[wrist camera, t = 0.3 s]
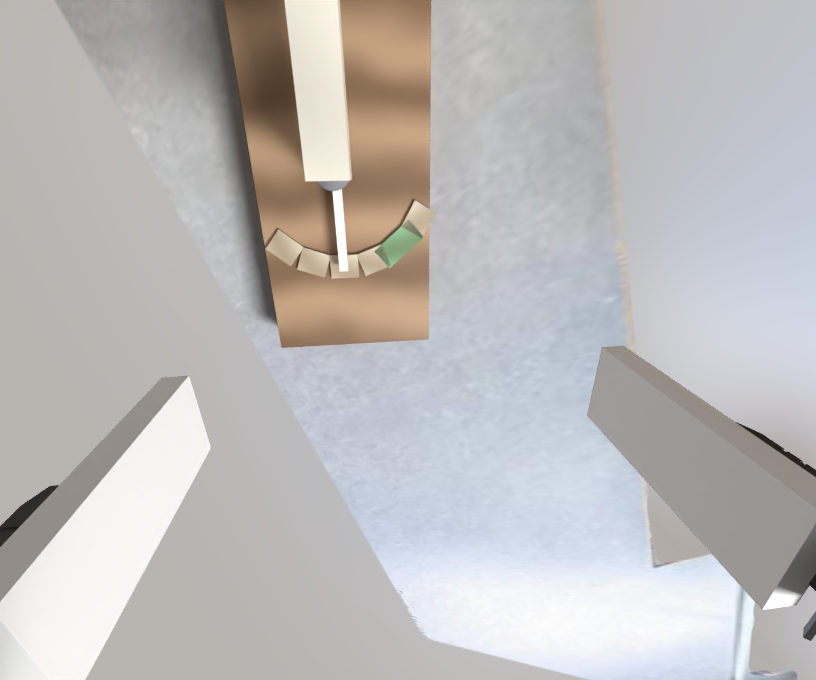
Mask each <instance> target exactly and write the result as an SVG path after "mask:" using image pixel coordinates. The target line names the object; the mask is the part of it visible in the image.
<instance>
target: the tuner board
mask: <svg viewBox="0 0 816 680" xmlns="http://www.w3.org/2000/svg"><path fill="white" fill-rule="evenodd" d="M224 5H225V11H226V17H227V23H228V29H229V35H230V41H231V47H232V53H233V59H234V65H235V71H236V77H237V83H238V89H239V95H240V101H241V107H242V113H243V119H244V125H245V131H246V137H247V143H248V149H249V155H250V161H251V167H252V173H253V179H254V185H255V191H256V197H257V203H258V209H259V215H260V221H261V227H262V233H263V239H264V245H265V251H266V257H267V263H268V269H269V275H270V281H271V287H272V293H273V299H274V305H275V311H276V317H277V323H278V329H279V335H280V341H281V347H282V348H287V347H304V346H321V345H339V344H356V343H373V342H390V341H408V340H425V339H429V224H430V222H431V220H432V218H433V216H434V214H435V212H434V211H432V210H430V82H431V0H340V12H341V27H342V41H343V56H344V70H345V85H346V99H347V114H348V128H349V143H350V157H351V170H352V180H351V181H350V182H349V184H348V185H347V186H345V187H344V188H342V196H343V209H344V221H345V234H346V246H347V259H348V271H341V272H340V270H339V258H338V247H337V236H336V225H335V214H334V203H333V191H329V190H326V189H324V188H323V187H322V186H321V185H320V184H319V183H318V182H317V181H305V174H304V165H303V157H302V148H301V139H300V131H299V122H298V113H297V105H296V96H295V87H294V79H293V70H292V61H291V53H290V44H289V36H288V27H287V18H286V10H285V1H284V0H224Z"/></svg>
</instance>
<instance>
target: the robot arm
mask: <svg viewBox="0 0 816 680" xmlns="http://www.w3.org/2000/svg"><path fill="white" fill-rule="evenodd" d="M587 416H588V417H589V418H590V419H591V420H592V422H593V423H594V424H595V425H596V426H597V427H598V428H599V429H600V430H601V432H602V433H603V434H604V435H605V436H606V437H607V438H608V439H609V440H610V442H611V443H612V444H613V445H614V446H615V447H616V448H617V449H618V450H619V452H620V453H621V454H622V455H623V456H624V457H625V458H626V459H627V460H628V461H629V463H630V464H631V465H632V466H633V467H634V468H635V469H636V470H637V471H638V473H639V474H640V475H641V476H642V477H643V478H644V479H645V480H646V481H647V483H648V484H649V485H650V486H651V487H652V488H653V489H654V490H655V491H656V492H657V493H658V495H659V496H660V497H661V498H662V499H663V500H664V501H665V503H666V504H667V505H668V506H669V507H670V508H671V509H672V510H673V511H674V512H675V514H676V515H677V516H678V517H679V518H680V519H681V520H682V521H683V522H684V524H685V525H686V526H687V527H688V528H689V529H690V530H691V531H692V532H693V534H695V536H696V537H697V538H698V539H699V540H700V541H701V542H702V543H703V545H704V546H705V547H706V548H707V549H708V550H709V551H710V552H711V554H712V555H713V556H714V557H715V558H716V559H717V560H718V561H719V562H720V563H721V565H722V566H723V567H724V568H725V569H726V570H727V571H728V572H729V573H730V575H731V576H732V577H733V578H734V579H735V580H736V581H737V582H738V583H739V585H740V586H741V587H742V588H743V589H744V590H745V591H746V592H747V593H748V595H749V596H750V597H751V598H752V599H753V600H754V601H755V602H756V603H757V604H758V606H759V607H760V608H761V609H762V610H764V609H772V608H779V607H786V606H792V605H796V604H797V603H798V602H799V600H800V599H801V597H802V596H803V594H804V593H805V591H806V590H807V588H808V587H809V585H810V586H811V587H812V588H813V589H814V590H815V591H816V470H815V469H813V468H812V467H810V466H809V465H807V464H806V465H804V464H803V462H802V460H800V459H799V458H797V457H796V456H794V455H793V454H791V453H790V452H785V451H784V448H782V447H781V446H779V445H778V444H776V443H775V442H773V441H772V440H770V439H769V438H767V437H766V436H764V435H763V434H761V433H759V432H756V431H754V430H752V429H750V428H748V427H746V426H743V425H741V424H739V423H737V422H734V421H733V420H731V419H730V418H728V417H727V416H725V415H724V414H722V413H721V412H719V411H718V410H716V409H715V408H714V407H712V406H711V405H709V404H708V403H706V402H705V401H703V400H702V399H700V398H699V397H697V396H696V395H695V394H693V393H692V392H690V391H689V390H687V389H686V388H685V387H683V386H682V385H680V384H679V383H677V382H676V381H674V380H673V379H671V378H670V377H669V376H667V375H666V374H664V373H663V372H661V371H660V370H658V369H657V368H655V367H654V366H652V365H651V364H649V363H648V362H647V361H645V360H644V359H642V358H641V357H639V356H638V355H636V354H635V353H633V352H632V351H631V350H629V349H628V348H626V347H625V346H612V347H602V349H601V354H600V358H599V363H598V367H597V372H596V377H595V381H594V386H593V390H592V395H591V399H590V404H589V409H588V413H587ZM210 449H211V447H210V444H209V440H208V437H207V434H206V430H205V427H204V424H203V421H202V418H201V414H200V411H199V408H198V404H197V401H196V398H195V394H194V391H193V388H192V385H191V381H190V378H189V376H179V377H166V378H161V379H160V380H159V381H158V382H157V384H156V385H155V386H154V387H153V388H152V389H151V390H150V391H149V392H148V393H147V394H146V395H145V396H144V397H143V398H142V399H141V400H140V401H139V402H138V403H137V405H136V406H135V407H134V408H133V409H132V410H131V411H130V412H129V413H128V414H127V415H126V416H125V417H124V418H123V419H122V420H121V421H120V422H119V423H118V424H117V425H116V426H115V428H114V429H113V430H112V431H111V432H110V433H109V434H108V435H107V436H106V437H105V438H104V439H103V440H102V441H101V442H100V443H99V444H98V445H97V446H96V447H95V448H94V450H93V451H92V452H91V453H90V454H89V455H88V456H87V457H86V458H85V459H84V460H83V461H82V462H81V463H80V464H79V465H78V466H77V467H76V468H75V469H74V471H73V472H72V473H71V474H70V475H69V476H68V477H67V478H66V479H65V480H64V481H63V482H62V483H61V484H60V485H58V486H50V487H48V488H46V489H45V490H43V491H42V492H40V493H39V494H38V495H36V496H35V497H33V498H32V499H30V500H29V501H27V502H26V503H24V504H23V505H21V506H20V507H19V508H18V509H17V510H16V511H15V512H14V513H13V514H12V515H11V516H10V517H9V518H8V519H7V520H6V521H5V522H4V523H3V524H2V525H1V526H0V680H85V679H86V677H87V676H88V674H89V672H90V670H91V668H92V666H93V664H94V663H95V661H96V659H97V657H98V655H99V653H100V652H101V650H102V648H103V646H104V644H105V642H106V640H107V639H108V637H109V635H110V633H111V631H112V629H113V627H114V626H115V624H116V622H117V620H118V618H119V616H120V614H121V613H122V611H123V609H124V607H125V605H126V603H127V602H128V600H129V598H130V596H131V594H132V592H133V591H134V589H135V587H136V585H137V583H138V581H139V580H140V577H141V576H142V574H143V572H144V570H145V568H146V567H147V565H148V563H149V561H150V559H151V557H152V556H153V553H154V552H155V550H156V548H157V546H158V544H159V543H160V541H161V539H162V537H163V535H164V533H165V532H166V530H167V528H168V526H169V524H170V522H171V520H172V519H173V517H174V515H175V513H176V511H177V509H178V508H179V506H180V504H181V502H182V500H183V498H184V497H185V495H186V493H187V491H188V489H189V487H190V485H191V484H192V482H193V480H194V478H195V476H196V474H197V472H198V471H199V469H200V467H201V465H202V463H203V461H204V459H205V458H206V456H207V454H208V452H209V450H210ZM815 635H816V612H815V613H814V615H813V616H812V618H811V619H810V620H809V622H808V623H807V624H806V626H805V627H804V633H803V637H804V638H805V639H808V640H810V641H811V640H812V639H813V637H814V636H815Z"/></svg>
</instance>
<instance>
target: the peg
mask: <svg viewBox="0 0 816 680" xmlns="http://www.w3.org/2000/svg"><path fill="white" fill-rule="evenodd" d="M284 1H285V10H286V18H287V27H288V36H289V44H290V53H291V61H292V70H293V79H294V87H295V96H296V105H297V113H298V122H299V131H300V139H301V148H302V157H303V165H304V174H305V181H317V182H318V183H319V184H320V185H321V186H322V187H323V188H324V189H326V190H329V191H333V203H334V214H335V225H336V236H337V247H338V258H339V270H340V272H341V271H348V259H347V246H346V234H345V221H344V209H343V196H342V188H344V187H345V186H347V185H348V184H349V182H350V181H351V180H352V170H351V157H350V143H349V128H348V114H347V99H346V85H345V70H344V56H343V41H342V27H341V12H340V0H284Z"/></svg>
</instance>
